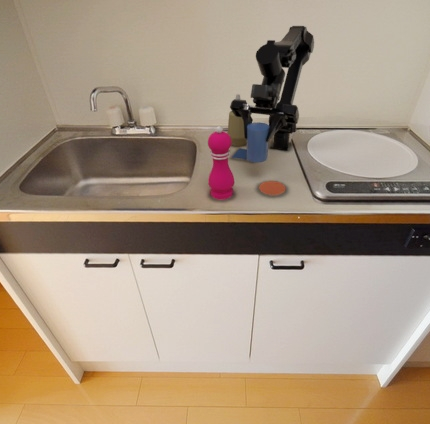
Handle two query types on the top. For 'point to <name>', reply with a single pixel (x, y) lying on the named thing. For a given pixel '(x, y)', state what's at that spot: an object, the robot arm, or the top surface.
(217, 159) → the pepper mill
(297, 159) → the top surface
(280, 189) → the terracotta mat
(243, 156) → the blue mat
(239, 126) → the squeeze bottle
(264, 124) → the blue tin
